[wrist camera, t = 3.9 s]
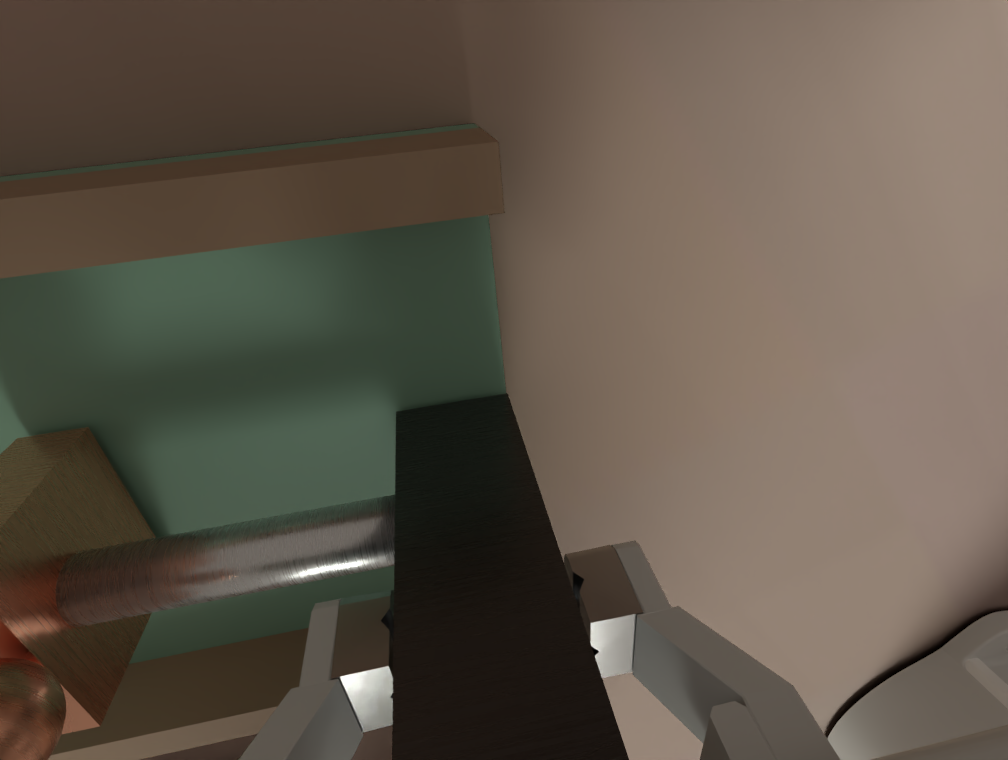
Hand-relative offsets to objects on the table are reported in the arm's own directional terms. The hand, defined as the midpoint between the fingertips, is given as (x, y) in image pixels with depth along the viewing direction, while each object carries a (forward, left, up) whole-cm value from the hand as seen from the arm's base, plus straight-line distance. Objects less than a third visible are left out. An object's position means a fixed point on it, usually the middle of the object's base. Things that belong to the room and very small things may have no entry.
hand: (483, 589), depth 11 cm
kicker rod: (+4, 0, -5) cm, 7 cm away
